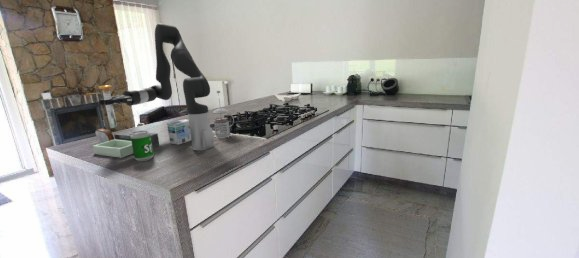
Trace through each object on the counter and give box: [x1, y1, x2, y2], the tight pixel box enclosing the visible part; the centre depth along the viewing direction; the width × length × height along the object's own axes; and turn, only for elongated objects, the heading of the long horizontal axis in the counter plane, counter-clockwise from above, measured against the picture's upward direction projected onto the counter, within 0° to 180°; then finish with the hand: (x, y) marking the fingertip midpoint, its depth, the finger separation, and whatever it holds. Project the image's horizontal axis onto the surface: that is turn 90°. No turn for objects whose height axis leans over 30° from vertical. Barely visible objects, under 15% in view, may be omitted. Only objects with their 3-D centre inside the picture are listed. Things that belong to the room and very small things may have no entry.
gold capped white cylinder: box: [98, 85, 118, 129], centre depth 126 cm, size 5×5×19 cm
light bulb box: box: [166, 118, 191, 145], centre depth 144 cm, size 11×7×11 cm, turn 150°
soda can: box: [130, 130, 155, 162], centre depth 119 cm, size 8×8×12 cm
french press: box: [212, 90, 235, 139], centre depth 149 cm, size 10×12×25 cm
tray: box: [92, 138, 134, 159], centre depth 131 cm, size 18×11×4 cm, turn 68°
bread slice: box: [94, 127, 115, 144], centre depth 143 cm, size 15×3×8 cm, turn 57°
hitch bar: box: [113, 130, 160, 148], centre depth 140 cm, size 22×7×6 cm, turn 68°
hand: (102, 102), depth 123 cm, fingers closed on gold capped white cylinder, 2 cm apart
